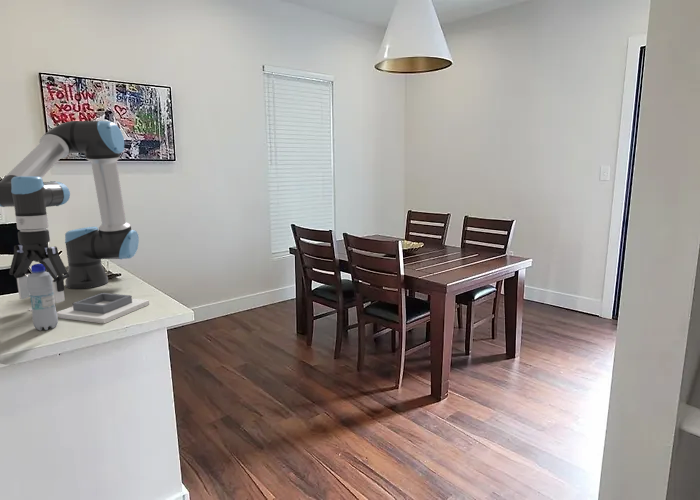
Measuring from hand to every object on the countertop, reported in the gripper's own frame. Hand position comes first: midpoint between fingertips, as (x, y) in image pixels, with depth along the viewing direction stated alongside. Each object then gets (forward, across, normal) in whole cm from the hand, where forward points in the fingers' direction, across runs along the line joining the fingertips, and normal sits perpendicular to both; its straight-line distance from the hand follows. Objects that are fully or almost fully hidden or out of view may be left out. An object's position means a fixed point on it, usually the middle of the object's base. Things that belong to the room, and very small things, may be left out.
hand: (42, 300), depth 136 cm
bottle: (+9, 0, 0) cm, 9 cm away
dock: (+9, +4, +18) cm, 21 cm away
